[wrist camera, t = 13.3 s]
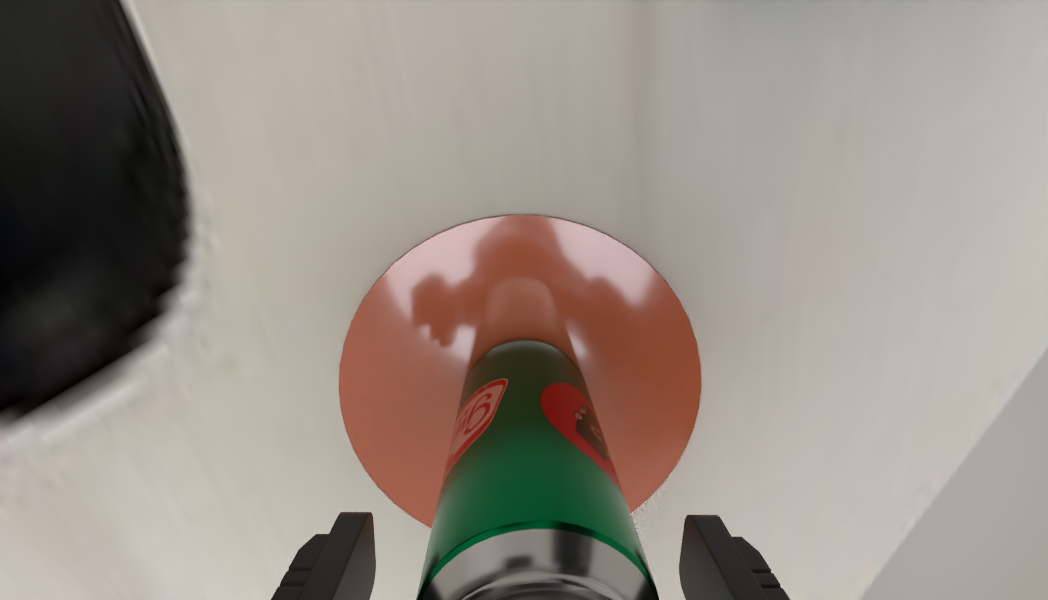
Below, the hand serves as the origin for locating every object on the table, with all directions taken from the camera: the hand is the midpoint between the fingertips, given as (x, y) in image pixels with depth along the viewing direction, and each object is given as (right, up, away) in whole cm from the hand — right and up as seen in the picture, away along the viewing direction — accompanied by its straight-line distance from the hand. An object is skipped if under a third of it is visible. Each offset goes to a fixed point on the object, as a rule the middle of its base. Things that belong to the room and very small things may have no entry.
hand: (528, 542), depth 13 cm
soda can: (0, +2, +8) cm, 9 cm away
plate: (0, +2, +8) cm, 8 cm away
